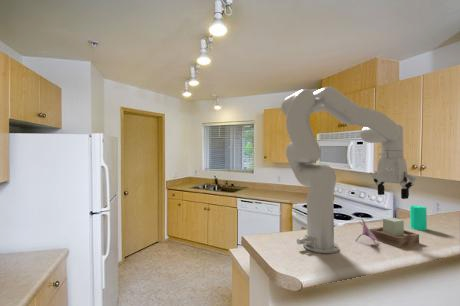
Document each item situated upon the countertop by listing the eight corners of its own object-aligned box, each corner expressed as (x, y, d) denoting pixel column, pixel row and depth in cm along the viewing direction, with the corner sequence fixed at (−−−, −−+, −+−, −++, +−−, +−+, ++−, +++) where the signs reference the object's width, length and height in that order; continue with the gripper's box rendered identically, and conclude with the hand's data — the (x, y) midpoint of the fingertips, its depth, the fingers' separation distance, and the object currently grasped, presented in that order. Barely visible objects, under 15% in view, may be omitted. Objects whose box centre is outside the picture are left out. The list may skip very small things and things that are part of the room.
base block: (398, 248, 89) (398, 238, 89) (369, 238, 100) (369, 229, 100) (419, 244, 93) (419, 234, 93) (389, 235, 104) (389, 225, 104)
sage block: (394, 236, 93) (394, 221, 93) (383, 232, 98) (382, 218, 98) (403, 235, 95) (403, 220, 95) (391, 231, 99) (391, 217, 99)
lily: (366, 253, 86) (380, 231, 85) (339, 232, 96) (352, 212, 94) (379, 255, 93) (393, 235, 92) (353, 235, 103) (365, 217, 101)
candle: (429, 230, 108) (429, 204, 108) (415, 230, 109) (414, 204, 109) (421, 226, 114) (420, 202, 114) (407, 226, 115) (407, 201, 115)
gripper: (366, 155, 103) (366, 193, 103) (408, 154, 87) (408, 201, 87) (378, 155, 106) (378, 193, 106) (421, 154, 90) (421, 199, 90)
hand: (392, 196), depth 96 cm, fingers open, 9 cm apart
